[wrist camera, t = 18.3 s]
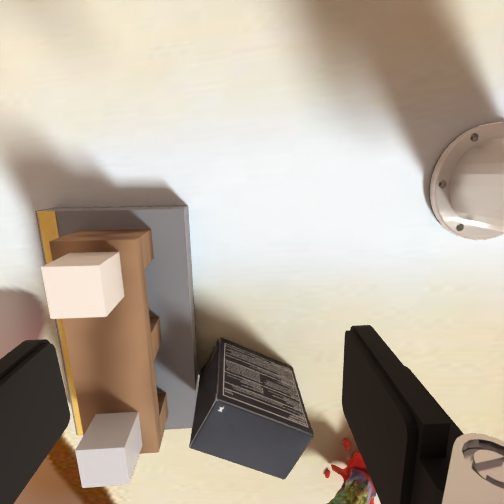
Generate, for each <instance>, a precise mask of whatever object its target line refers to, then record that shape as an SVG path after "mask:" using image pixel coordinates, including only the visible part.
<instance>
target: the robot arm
mask: <svg viewBox="0 0 504 504" xmlns="http://www.w3.org/2000/svg"><path fill="white" fill-rule="evenodd" d="M430 200H431V205H432V209H433V211H434V214H435V216H436V218H437V219H438V221H439V222H440V223H441V225H442V226H443V227H445V228H446V229H447V230H448V231H449V232H451V233H453V234H455V235H457V236H460V237H464V238H467V239H473V240H486V239H491V238H495V237H498V236H500V235H503V234H504V122H495V123H488V124H484V125H479V126H477V127H474V128H472V129H470V130H467V131H466V132H464V133H463V134H461V135H460V136H458V137H457V138H456V139H455V140H454V141H453V142H452V143H451V144H449V146H448V147H447V148H446V149H445V151H444V152H443V153H442V155H441V156H440V158H439V160H438V162H437V164H436V166H435V169H434V172H433V174H432V178H431V184H430ZM342 406H343V411H344V414H345V417H346V419H347V422H348V424H349V427H350V429H351V431H352V434H353V436H354V439H355V441H356V444H357V446H358V449H359V451H360V453H361V456H362V458H363V461H364V463H365V466H366V468H367V470H368V473H369V475H370V478H371V480H372V483H373V485H374V488H375V490H376V492H377V495H378V497H379V500H380V502H381V504H504V442H503V441H501V440H499V439H497V438H494V437H490V436H487V435H484V434H476V433H470V434H463V433H462V432H461V430H460V429H459V428H458V427H457V426H456V424H455V423H454V422H453V421H452V420H451V418H450V417H449V416H448V415H447V414H446V412H445V411H444V410H443V409H442V408H441V406H440V405H439V404H438V403H437V402H436V400H435V399H434V398H433V397H432V396H431V394H430V393H429V392H428V391H427V390H426V388H425V387H424V386H423V385H422V384H421V382H420V381H419V380H418V379H417V378H416V376H415V375H414V374H413V373H412V372H411V370H410V369H409V368H407V367H406V366H404V365H403V364H402V363H401V362H400V360H399V359H398V358H397V357H396V356H395V354H394V353H393V352H392V351H391V349H390V348H389V347H388V346H387V345H386V343H385V342H384V341H383V340H382V338H381V337H380V336H379V335H378V334H377V332H376V331H375V330H374V329H373V327H372V326H370V325H361V326H352V327H351V329H350V331H346V332H345V345H344V367H343V389H342ZM69 420H70V411H69V407H68V402H67V398H66V394H65V389H64V385H63V380H62V376H61V372H60V367H59V363H58V358H57V354H56V350H55V347H54V345H53V344H50V342H49V341H48V340H46V339H45V340H26V341H24V342H22V343H21V344H20V345H18V346H17V347H16V348H15V349H13V350H12V351H11V352H9V353H8V354H7V355H5V356H4V357H3V358H1V359H0V504H13V503H14V502H15V501H16V499H17V498H18V496H19V495H20V493H21V492H22V490H23V489H24V488H25V486H26V485H27V483H28V482H29V480H30V479H31V478H32V476H33V475H34V473H35V472H36V471H37V469H38V468H39V466H40V465H41V463H42V462H43V460H44V459H45V458H46V456H47V455H48V453H49V452H50V450H51V449H52V448H53V446H54V445H55V443H56V442H57V440H58V439H59V438H60V436H61V435H62V433H63V432H64V430H65V429H66V427H67V426H68V423H69Z"/></svg>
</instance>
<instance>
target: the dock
mask: <svg viewBox="0 0 504 504" xmlns="http://www.w3.org/2000/svg"><path fill="white" fill-rule="evenodd" d="M35 212H36V217H37V222H38V228H39V233H40V239H41V244H42V250H43V255H44V260H45V265H46V264H48V263H50V262H52V255H51V250H50V244H49V241H52V240H54V239H57V238H60V237H63V236H65V235H68V234H71V233H73V232H76V231H83V230H133V229H151V231H152V242H153V252H154V259H153V260H152V261H151V262H150V263H149V264H148V265H147V267H146V268H145V277H146V287H147V297H148V307H149V317H159V318H160V329H161V340H162V342H161V345H160V347H159V350H158V352H157V355H156V357H155V359H154V367H155V377H156V387H157V393H166V395H167V406H168V418H167V422H166V426H165V429H182V428H192V426H193V420H194V413H195V406H196V399H197V392H198V386H199V380H198V363H197V347H196V330H195V314H194V297H193V281H192V264H191V248H190V231H189V215H188V206H148V207H84V208H50V209H45V210H40V211H35ZM55 320H56V326H57V331H58V336H59V342H60V347H61V353H62V358H63V364H64V369H65V374H66V380H67V385H68V391H69V396H70V402H71V407H72V412H73V418H74V423H75V429H76V434H77V435H83V430H82V425H81V419H80V413H79V408H78V402H77V396H76V391H75V385H74V380H73V374H72V368H71V363H70V357H69V351H68V346H67V340H66V334H65V329H64V323H63V319H55ZM165 429H164V430H165Z"/></svg>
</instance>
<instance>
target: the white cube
mask: <svg viewBox="0 0 504 504" xmlns="http://www.w3.org/2000/svg"><path fill="white" fill-rule="evenodd" d="M141 448H142V438H141V430H140V421H139V413H138V412H124V413H106V414H96V415H95V416H94V418H93V420H92V422H91V424H90V425H89V427H88V429H87V431H86V432H85V434H84V436H83V438H82V440H81V441H80V443H79V445H78V447H77V448H76V450H75V451H76V457H77V462H78V467H79V473H80V478H81V483H82V488H87V487H101V486H115V485H129V484H130V482H131V479H132V475H133V472H134V469H135V466H136V463H137V460H138V457H139V454H140V451H141Z"/></svg>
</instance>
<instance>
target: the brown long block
mask: <svg viewBox="0 0 504 504" xmlns="http://www.w3.org/2000/svg"><path fill="white" fill-rule="evenodd" d="M49 244H50V250H51V255H52V261H54V260H56V259H58V258H60V257H62V256H64V255H66V254H68V253H85V252H119V255H120V263H121V272H122V280H123V288H124V297H123V298H122V300H121V301H120V302H119V303H118V304H117V305H116V306H115V308H114V309H113V310H112V311H111V312H110V313H109V314H108V316H107V317H90V318H63V323H64V329H65V334H66V340H67V346H68V351H69V357H70V363H71V368H72V374H73V380H74V385H75V391H76V396H77V402H78V408H79V413H80V419H81V425H82V430H83V436H84V434H85V432H86V431H87V429H88V427H89V425H90V424H91V422H92V420H93V418H94V416H95V415H96V414H106V413H124V412H138V413H139V421H140V430H141V438H142V448H141V451H140V454H141V453H156V452H159V449H160V445H161V441H162V437H163V433H164V429H165V426H166V422H167V418H168V406H167V395H166V393H157V387H156V377H155V367H154V359H155V357H156V355H157V352H158V350H159V347H160V345H161V342H162V340H161V329H160V318H159V317H149V307H148V297H147V287H146V277H145V268H146V267H147V265H148V264H149V263H150V262H151V261H152V260H153V259H154V252H153V242H152V231H151V229H133V230H83V231H76V232H73V233H71V234H68V235H65V236H63V237H60V238H57V239H54V240H52V241H49Z"/></svg>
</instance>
